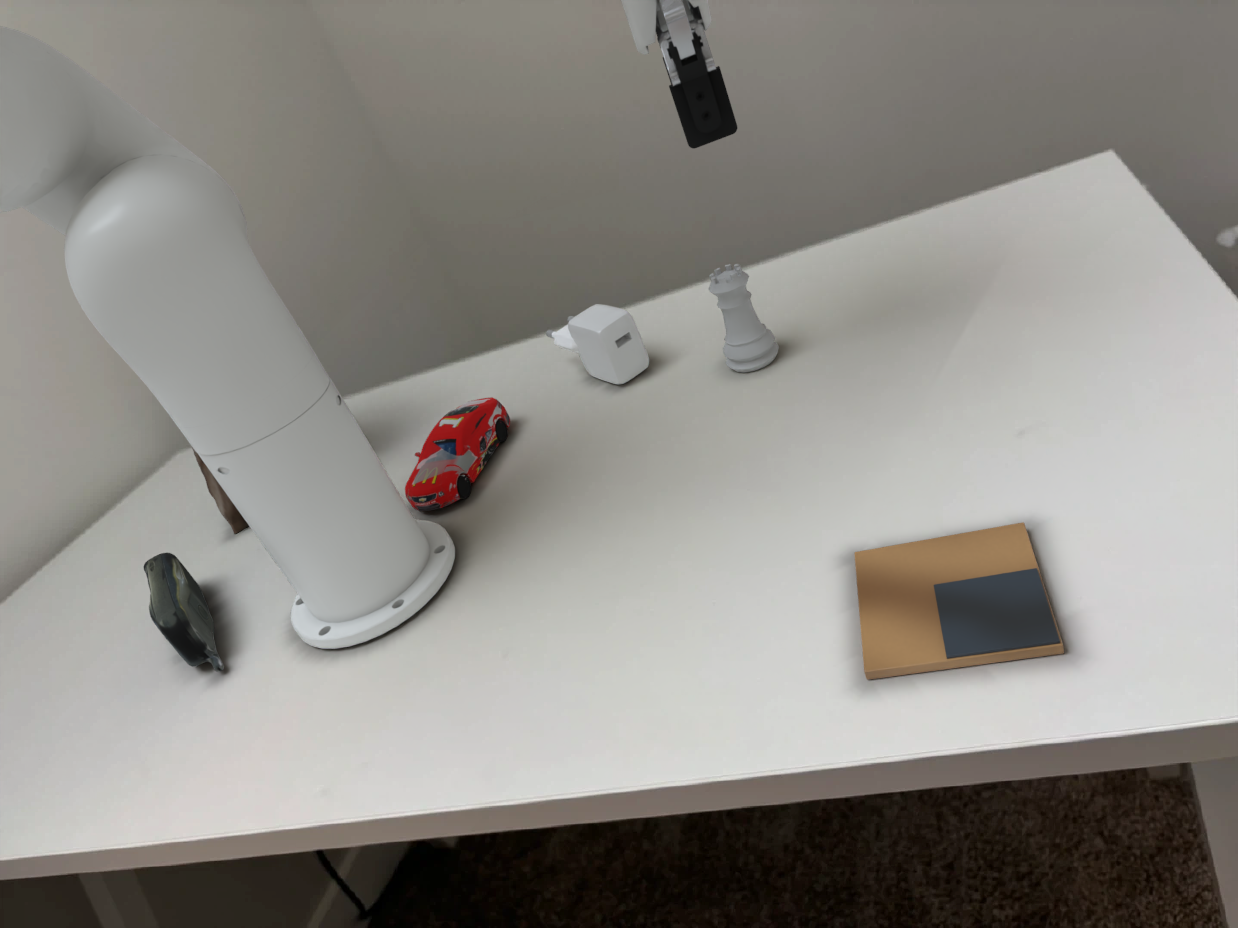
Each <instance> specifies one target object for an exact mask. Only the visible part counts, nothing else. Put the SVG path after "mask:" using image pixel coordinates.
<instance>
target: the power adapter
mask: <svg viewBox="0 0 1238 928" xmlns="http://www.w3.org/2000/svg"><path fill="white" fill-rule="evenodd" d="M545 335H546V336H547V337H548V338H551V339H553V340H554V341H553V343H554V346H556V347H558V348H560V349H562V350H565V351H568V352H571V353H574V354H578V356H579V358H580V360H581V363H582V365H583V366H584V369H585V370H586V372H588V374H589V375H590V376H592V377H594V378H596V379H599V380H602V381H605V382H607V383H610V384H613V385H623V384H626V383H627V382H629V381H630V380H632V379H634V378H635V377H636V376H638V375H639V374H641V373H642V372H644V371H645V370H647V368H648V367H649V366H650V365H649V364H650V358H649V355H648V351H647V348H646V346H645V344H644V341H643V338H642V336H641V333H640V331H639V328H638V326H637V323H636V321H635V318H634V317H633V315H632V314H631V313H630V312H629V311H628V310H627V309H624V308H621V307H617V306H612V305H609V304H602V303H595V304H593V305H591V306H590V307H589V306H588V308H586V309H584V310H583V311H581V312H580V313H578V314H576V315H574V316H573V315H569V316H568V317H567V324H566V325H564V326H563V327H561V328H560V329H558V330H553V329H547V330H546V332H545Z"/></svg>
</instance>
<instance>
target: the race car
mask: <svg viewBox="0 0 1238 928" xmlns="http://www.w3.org/2000/svg"><path fill="white" fill-rule="evenodd" d="M510 425H511V418H510V415H509V413H508V411H507V409H506V407H505V406H504V405H503V404H502V402H500V401H499V400H498V399H497V398H495V397H493V396H491V397H483V398H477V399H473V400H469V401H467V402H464V403H463V404H461V405H459V406H457V407H456V408H453V409H451V410H450V411H448V412H447V413H446V414H444V415H443V416H442V417H441V418H440V419H439V420H438V422H436V424H435V425H434V427H433V428H432V429H431V430H430V432H429V434H428V436H427V437H426V439H425V441H424V443H423V445H422V448H421V450H420V452H419V451H417V452H415V453H414V457H418V461H417V463H416V465H415V466H414V468H413V470H412V473H411V474H410V475H409V477H408V480H407V482H406V484H405V485H404V495H405V498H406V499H407V501H408V502H409V504H410V505H411V507H412V508H413V509H414V510H416V511H419V512H430V511H434V510H438V509H442V508H445V507H447V506H449V505H451V504H453V503H455V502H457V501H459V500H462V499H463V500H464V499H467V498H469V497H470V496H471V492H472V484H473V483H475V481H476V480H477V478H478V477H479V475H480V473H481V472H482V470H483V469H484V468H485V466H486V464H487V463H488V461H489V460H490V458H491V457H492V455H493V454H494V452H495V450H496V449H497V448H498V446H499V444H500V443H502V442H505V441H506V440H507V438H508V428H510Z"/></svg>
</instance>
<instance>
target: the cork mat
mask: <svg viewBox="0 0 1238 928" xmlns="http://www.w3.org/2000/svg"><path fill="white" fill-rule="evenodd" d="M1025 523H1026V522H1024V521H1023V522H1017V523H1012V524H1005V525H1000V526H994V527H989V528H983V529H977V530H971V531H966V532H961V533H954V534H949V535H944V536H937V537H932V538H926V539H921V540H915V541H909V542H904V543H899V544H892V545H887V546H881V547H876V548H875V547H874V548H871V549H870V548H869V549H864V550H859V551H855V552H854V554H853V555H854V567H855V578H856V579H855V580H856V590H857V591H856V592H857V602H858V603H857V604H858V613H859V626H860V638H861V650H862V662H863V674H864V676H865V679H866V680H867V681H869V680H876V679H883V678H884V679H885V678H892V677H898V676H906V675H913V674H921V673H927V672H928V673H929V672H936V671H937V672H938V671H944V670H949V669H958V668H966V667H972V666H973V667H974V666H980V665H988V664H996V663H1002V662H1003V663H1004V662H1010V661H1011V662H1012V661H1019V660H1025V659H1026V660H1027V659H1034V658H1041V657H1047V656H1055V655H1062V654H1064V653H1065V649H1064V648H1065V647H1064V643H1063V640H1062V636H1061V634H1060V631H1059V627H1058V625H1057V621H1056V618H1055V615H1054V612H1053V608H1052V605H1051V603H1050V599H1049V596H1048V593H1047V590H1046V586H1045V583H1044V581H1043V578H1042V577H1043V576H1042V574H1041V571H1040V568H1039V567H1040V566H1039V565H1038V564H1039V563H1038V562H1037V558H1036V554H1035V553H1034V549H1033V546H1032V542H1031V539H1030V536H1029V533H1028V530H1027V526H1026V524H1025Z"/></svg>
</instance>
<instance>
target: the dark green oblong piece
mask: <svg viewBox="0 0 1238 928" xmlns="http://www.w3.org/2000/svg"><path fill="white" fill-rule="evenodd" d="M143 571H144V573H145V575H146V579H147V585H148V587H149V592H150V594H149V605H148V613H149V616H150V618H151V621H152V622H153V624H154V625H155V626H156V628H157V629H158V630H159V632H160V633H161V635H163V637H164V638H165V639H166V640H167V642H168V643H169V645H171V647H172V648H173V649H174V650H175V652H176V653H178V655H179V656H180V657H181V659H182V660H184V662H185V663H186V664H187V665H189V666H190V667H195V668H196V667H198V666H200V665H202V664H204V663H209V664H211V665H212V668H213V669H214V671H215V672H218V673H220V672H223V670H224V669H225V664H224V663H223V660H222V659H221V658H220V655H219V652H218V649H217V647H216V641H215V638H214V637H215V636H214V635H215V623H214V619H213V618H212V615H211V612H210V608H209V605H208V603H207V600H206V598H205V595H204V593H203V591H202V589H201V587H200V585H199V584H198V583H197V580H196V579H195V578H194V577H193V576H192V574H191V573H190V572H189V571H188V569H187V568H186V566H185V565H184V564H183V563H182V562H181V561H180V560H179V558H178V557H177V556H176V555H175V554H173V553H172V552H162V553H159V554H156V555H154V556H153V557H151V558H149V559H148V560H147V561H145V562H144V564H143Z"/></svg>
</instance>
